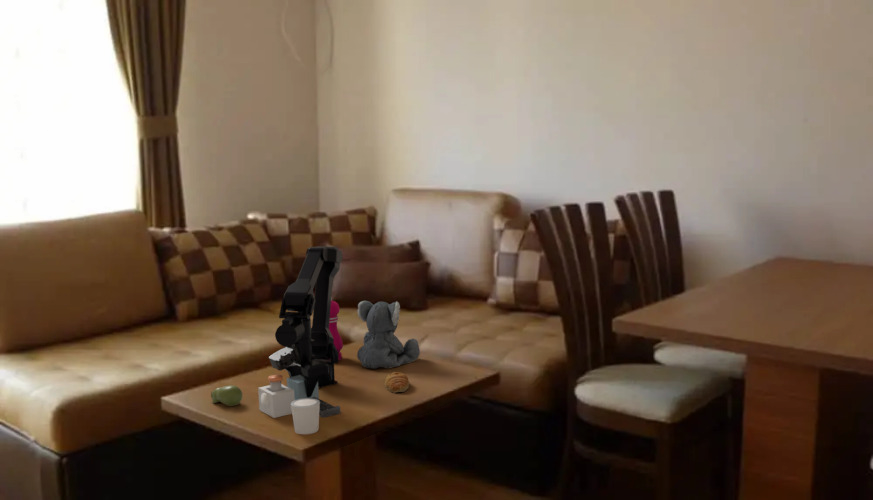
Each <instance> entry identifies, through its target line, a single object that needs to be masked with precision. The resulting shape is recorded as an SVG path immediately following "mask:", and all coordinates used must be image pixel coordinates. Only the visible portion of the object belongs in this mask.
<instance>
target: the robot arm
mask: <svg viewBox="0 0 873 500" xmlns="http://www.w3.org/2000/svg"><path fill="white" fill-rule="evenodd" d="M305 252H306V257H305V259H304V261H303V264H302V267H301V269H300V271H299V274H298V276H297V278H296V280H295V282H293V283H291V284H290V285H288V287H287V289H286V291H285V292H284V294H283V296H282V300H281V304H280V310H279V315H278V319H282V321H281V322H282V323H281V325H279V326H278V327H277V328H276V330H275V333H274V337H275V340H276V341H277V343H278V344H279V345H280V346H282V347H283V348H281V349H279V350H277V351H276V352H274V353H272V354H271V355H270V356H268V359H269V362H270V363H271V366H272V368H273V369H276V370H277V371H278V372H280V371H283V370H285V371H286V372H287V373H288V375H289V376H288V377H293V376H298V375H300V376H301V377H302V378H303V379H304V384H305V390H306V395H307V397H311V396H312V393H313V391H314V389H315V387H316V384H317V382H318V389H319V388H324V387H328V386H333V385H337V384H338V383H339V382H338V381H337V380H335V364H339V361H338V358H339V356H338V355H339V353H338V351H337V349H336V347H335V345H334V338H333V336H332V334H331V332H330V330H329V320H330V308H331V297H332V294H333V281H334V278H335V277H336V275H337V274H338V272H339V271H340V268H341V263H342V262H343V251H342V250H340V249H339V248H338V246H318V245H317V246H310V247H307V249H306V251H305ZM314 289H315V291H314ZM311 316H312V320H311Z"/></svg>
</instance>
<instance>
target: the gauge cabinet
mask: <svg viewBox="0 0 873 500" xmlns="http://www.w3.org/2000/svg"><path fill="white" fill-rule="evenodd" d="M281 387H282V390H281V391H276V392H271V391H270V384H268V385H265V386H259V387H257V389H258V390H257V391H258V392H257V394H258V408H259V411H260V412H262V413H264V414H266V415H268V416H270V417H271V418H273V419H276V418H279V417H283V416H287V415H292V408H291V403H292V402H293V401H295V400H294V390H293V389H291V388H289V387H287V385H284V384H283V383H281Z"/></svg>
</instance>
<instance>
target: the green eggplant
mask: <svg viewBox="0 0 873 500" xmlns="http://www.w3.org/2000/svg"><path fill="white" fill-rule="evenodd" d="M210 397H211V401H212V404H217V403H220V402H221V403H222V404H224V405H226V406H228V407H234V406H237V405H238V404H240V403H241V402H242V399H243V392H242V389H241V387H239V386H237V385H224V386H221V387H217V388H214V390H213V391H211V393H210Z"/></svg>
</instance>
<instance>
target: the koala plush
mask: <svg viewBox="0 0 873 500" xmlns="http://www.w3.org/2000/svg"><path fill="white" fill-rule="evenodd" d="M357 308H358V309H357V311H356V312H357V316H358V318H359V319H360V320H361V321H362V322H364V323H366V327H367V332H365V334H364V337H363V345H362V346H361V347H359V348H358V350H357V355H356V357H357V359H358V360H359V362H360V363H361V366H362V367H363V368H367V369H374V370H375V369H379V368H384V369H390V368H391V369H392V368H397V367H400V366H401V365H405V364H409V363H412V362H415V361H416V360H418V358H419V357H420V346H419V340H418V339H416V338H414V337H413V338H409V339H408V340H407V341H406V342H405V343H404V345H403V344H402V342H401V341H400V339H399V338H398V337H397V336H396V335H395V332H396V330H397V328H398V324H399V321H400V312H401V305H400V302H398V301H395V302H392V303H389V302H386V301H378V302H376V303H374V304H373V303H372V302H371V301H368V300H362V301H360V302H358V304H357Z"/></svg>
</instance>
